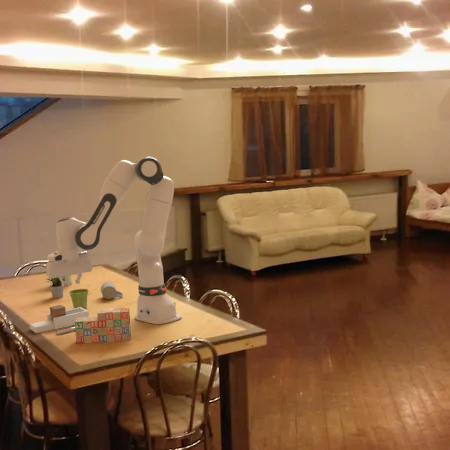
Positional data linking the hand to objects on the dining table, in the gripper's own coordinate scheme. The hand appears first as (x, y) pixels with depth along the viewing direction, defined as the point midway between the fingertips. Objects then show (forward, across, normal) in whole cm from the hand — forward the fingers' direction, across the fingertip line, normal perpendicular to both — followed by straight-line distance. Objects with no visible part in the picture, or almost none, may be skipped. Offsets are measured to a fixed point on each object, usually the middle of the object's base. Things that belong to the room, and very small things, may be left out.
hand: (71, 284), depth 280 cm
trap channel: (+17, +6, 0) cm, 18 cm away
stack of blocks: (+18, +1, +33) cm, 37 cm away
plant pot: (+17, -12, -20) cm, 29 cm away
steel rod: (+16, +6, +12) cm, 21 cm away
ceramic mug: (+18, -32, -28) cm, 46 cm away
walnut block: (+15, +7, 0) cm, 16 cm away
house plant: (+17, -14, -50) cm, 55 cm away
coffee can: (+17, -26, -76) cm, 82 cm away
